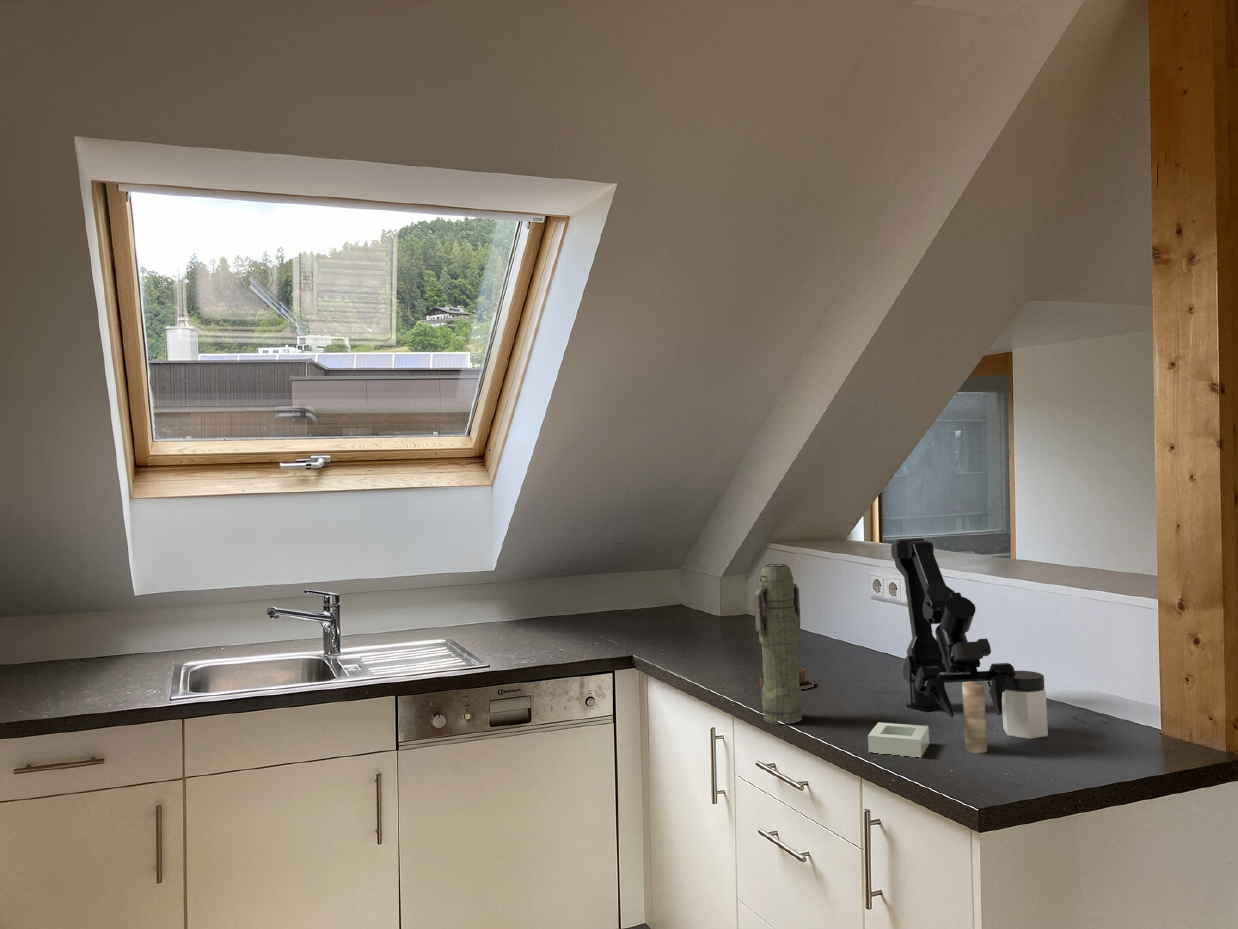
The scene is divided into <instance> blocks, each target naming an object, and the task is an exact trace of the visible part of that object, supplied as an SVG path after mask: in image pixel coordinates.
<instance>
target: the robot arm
mask: <svg viewBox="0 0 1238 929" xmlns="http://www.w3.org/2000/svg"><path fill="white" fill-rule="evenodd" d="M894 542H895V543H891V547H890V553H891V558H892V559H893V560H894V565H895V568H896V569H897V570H898V572H899V573H900V574H901V575H902V576H903V580H904V587H905V592H906V593H905V594H906V601H907V607H908V608H907V609H908V616H909V624H910V629H911V640H910V643H909V645H908V647H907V649H906V654H907V655H906V658H905V660H904V664H903V668H902V675H903V679H904V680H905V681H906V682H907V683H909V690H910V702H908V703H907V702H906V703H905V706H906V707H909V708H912V709H916V710H920V711H924V712H929V711H933V710H939V709H942V710H943V711H944V712H945V713H946V714H947V715H948V716H949V717H950V718H954V714H955V713H954V710H953V706H952V704H951V701H950V698H949V695H948V693H947V690H946V685H945V683H948V684H949V683H950V684H951V683H957V684H960V683H961V684H962V683H963V682H970V681H973V682H981V683H984V682H987V685H988V687H989V688H990V689H989V690H988V691H989V692H988V693H989V695H990V698H991V701H992V704H993V707H994V710H995V712H996V713H997V716H1001V715H1002V713H1003V711H1002V692H1004V691H1005V690H1006V689H1008V688H1010V686H1011V684H1012V681H1013V679H1014V677H1015V674H1016V673H1015V671H1016V670H1015V667H1014V665H1013V664H1011V663H1009V662H999V663H997V662H995V663H991V664H990V666H989V670H980V671H979V670H978V668H980V667H981V662H980V660H981V659H983V658H984V657H989V656H990V655H991V653H992V648H991V645H990V642H989V640H988V638H979V639H977V640H976V641H968V638H967V635H966V633H968V632H969V631H970V628H971V625H972V622H973V619H974V617H975V614H976V605H975V603H973V602H972V601H971V600H970V599H969V598H967V597H964V596H962V594H961V592H955V590H954V589H952V588H951V587H948V586H947V585H946V583H945V580H944V577H943V575H942V573H941V569H940V567H939V564H938V561H937V559H936V556H935V554H934V549H935V548H934V544H933V542H932V541H929V540H925V539H924V538H923V537H914V538H897V539H895V541H894ZM932 625H937V626H936V628H935V631H934V632H935V637H934V634H933V628H932Z"/></svg>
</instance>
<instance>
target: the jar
mask: <svg viewBox="0 0 1238 929" xmlns="http://www.w3.org/2000/svg"><path fill="white" fill-rule="evenodd" d="M1015 673H1016V674H1015V677H1014V679H1013V681H1012V684H1011V686H1010V688H1008V689H1006V690H1005V691H1004V692H1002V724H1003V726H1002V728H1003V730H1004V733H1005V734H1006V735H1007V736H1009V737H1016V738H1022V739H1029V740H1031V739H1037V738H1044V737H1048V736H1049V731H1048V730H1049V729H1048V728H1049V727H1048V709H1047V690H1046V689H1045V676H1044V674H1043V673H1040V672H1037V671H1031V670H1015Z"/></svg>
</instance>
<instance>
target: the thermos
mask: <svg viewBox="0 0 1238 929" xmlns="http://www.w3.org/2000/svg"><path fill="white" fill-rule="evenodd" d="M758 580H759V581H758V582H759V587H758V588H756V589H755V592H754V594H753V599H754V617H755V618H754V620H755V631H756V632H757V633H758V634H759V635H758V637H759V638H758V639H759V644H760V645H761V651H762V652H761V654H762V672H763V673H762V674H763V675H762V676H763V677H764V685H763V688H761V703H762V704H761V705H762V710H763V721H764V722H765V723H767V724H771V725H776V726H777V723H778V721H785V720H793V719H798V718H802V717H803V707H804V706H803V690H802V689H801V687H800V686H801V684H799V671H798V667H799V655H798V654H799V653H798V645H799V642H800V635H799V634H800V631H799V629H801V608H800V607H801V606H800V605H801V604H800V589H799V587H798V585H797V583H794V576H793V572H792V571H791V568H790V565H787V564H786V563H769V564H765V565H764V566H762V568H761V570H760V573H759V577H758ZM776 722H777V723H776Z"/></svg>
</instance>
